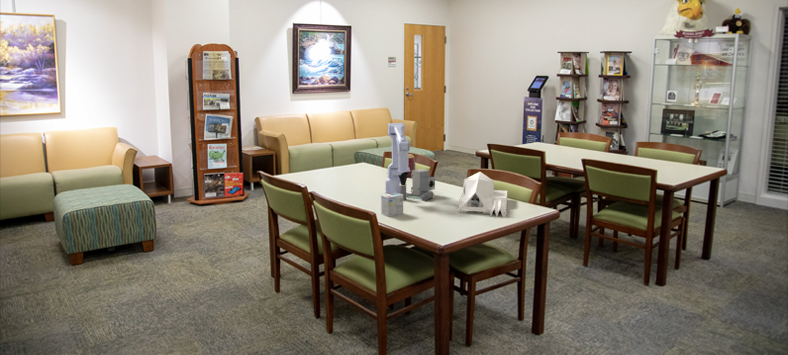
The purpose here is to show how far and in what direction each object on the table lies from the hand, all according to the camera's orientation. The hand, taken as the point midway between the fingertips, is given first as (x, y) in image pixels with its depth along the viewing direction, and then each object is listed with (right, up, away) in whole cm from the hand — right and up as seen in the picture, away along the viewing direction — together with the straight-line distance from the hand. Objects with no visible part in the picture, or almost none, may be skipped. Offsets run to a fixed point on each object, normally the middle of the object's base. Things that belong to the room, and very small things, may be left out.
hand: (403, 185), depth 332 cm
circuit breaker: (+13, -7, +21) cm, 26 cm away
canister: (+4, +5, +79) cm, 79 cm away
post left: (0, -9, +10) cm, 13 cm away
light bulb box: (-6, -16, -23) cm, 28 cm away
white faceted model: (+47, -13, -6) cm, 49 cm away
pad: (+8, -8, +15) cm, 18 cm away
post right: (+12, -7, +6) cm, 15 cm away
